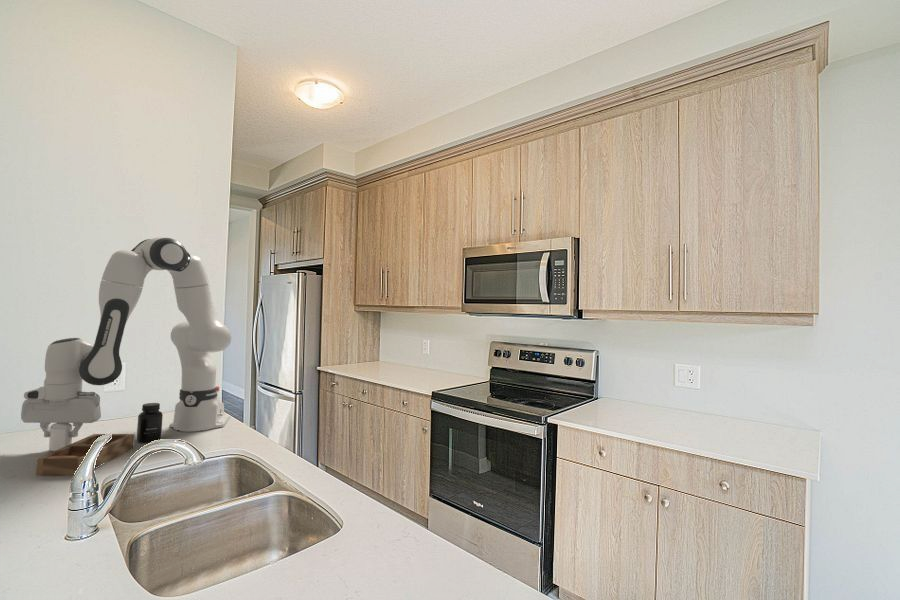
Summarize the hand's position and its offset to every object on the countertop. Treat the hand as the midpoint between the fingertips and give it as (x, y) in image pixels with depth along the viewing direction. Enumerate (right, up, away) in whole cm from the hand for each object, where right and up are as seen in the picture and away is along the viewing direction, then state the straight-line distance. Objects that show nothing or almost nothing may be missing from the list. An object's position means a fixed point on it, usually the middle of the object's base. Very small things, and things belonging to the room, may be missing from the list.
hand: (61, 436), depth 133 cm
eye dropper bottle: (0, -4, 0) cm, 4 cm away
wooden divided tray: (+15, -5, -7) cm, 17 cm away
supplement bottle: (+19, -5, +12) cm, 23 cm away
